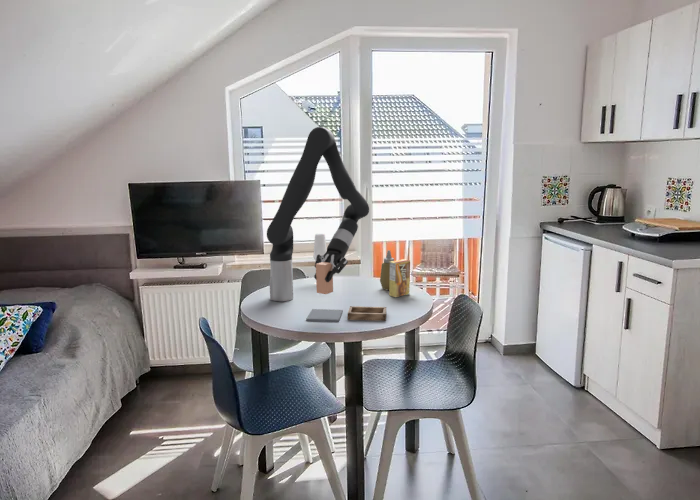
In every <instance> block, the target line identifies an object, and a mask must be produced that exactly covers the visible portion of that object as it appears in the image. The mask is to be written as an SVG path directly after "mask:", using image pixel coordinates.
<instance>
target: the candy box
mask: <svg viewBox="0 0 700 500" xmlns="http://www.w3.org/2000/svg"><path fill="white" fill-rule="evenodd" d="M410 275H411V260H409V259H406V258H402V259H397V260H394V261H391V262H390V284H389V290H388V291H389V292H388V293H389V297H393V298H398V297H402V296H406V295H410V288H411V287H410V286H411V285H410V282H411V277H410Z"/></svg>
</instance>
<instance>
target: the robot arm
mask: <svg viewBox="0 0 700 500" xmlns="http://www.w3.org/2000/svg"><path fill="white" fill-rule="evenodd" d="M322 157H323V158H324V160H325V162H326V164H327V167H328V169H329V171H330V176H331V179H332V181H333V184H334V187H335V189H336V190H337V192H338V194H339V196H340V198H341V199H342V200H347V201H348V202H349V203H350V204H349V205H348V206H347V207H346V208H345V210H344V213H343V215H342V218H341V222H340V224H339V226H338V228H337V229H336V231H335V233H334V234H333V236H332V237H331V240H330V241H329V243H328V245H327V246H326V248H327V252H326V253H325V254H324V255H322V256H320V255H317V258H316V261H315V263H314V268H315V269H316V264H317V263H321V262H328V263H331V267H330V271H328V273H327V275H326V277H325V281H326V282H329V281H330V280H331V279H332V277H333V278H334V275H335V274H338V275H339V274H340V273H341V272H342V271H343V269H344V268H345V267H346V265H348V263H349V261H348V260H347V258H346V255H347V252H348V250H349V249H350V247H351V244H352V243H353V240H354V237H355V235H356V233H357V231H358V228H359V225H358V221H360V220H361V219H363V218H366V217H367V216H368V215H369V212H370V206H369V204H368V203H369V202H368V201H367V200H366V199H365V197H364V196H363V194H361V193H360V191H359V190H358V189H357V188H356V186H355V183H354V181H353V180H352V177H351V175H350V173H349V171H348V169H347V168H346V165H345V163H344V161H343V159H342V156H341V154H340V152H339V148H338V144H337V142H336V139H335V136H334V134H333V132H332V130H330V129H329V128H326V127H323V126H317V127H315V128H313V129H312V130H311V131H310V132H309V133H308V136H307V140H306V142H305V146H304V149H303V152H302V154H301V157H300V159H299V161H298V163H297V166H296V167H295V169H294V171H293V174H292V176H291V178H290V180H289V182H288V185H287V187H286V189H285V192H284V194H283V196H282V199H281V200H280V201H281V202H280V204H279V206H278V210H277V212H276V213H275V215H274V217H273V218H272V220H271V222H270V224H269V226H268V228H267V230H266V237H267V240H268V242H269V243H270V244H272V248H271V251H270V253H269V265H270V267H269V269H270V278H269V281H268V282H269V301H275V302H288V301H291V300H293V299H294V279H293V278H294V277H293V253H294V231H293V230H294V229H293V227H292V223H293V221H294V219H295V217H296V215H297V214H298V213H299V211H300V210H301V208H302V207H303V205H304V204H305V202H306V201H307V199H308V197H309V195H310V194H311V191H312V189H313V187H314V184H315V179H316V174H317V173H316V172H317V168H318V165H319V163H320V161H321V159H322ZM313 278H314V279H315V280H316V272H315V273H314V275H313Z"/></svg>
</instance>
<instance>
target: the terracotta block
mask: <svg viewBox="0 0 700 500" xmlns="http://www.w3.org/2000/svg"><path fill="white" fill-rule="evenodd" d="M330 267H331V263H328V262H321V263H317V264H316V268H315V273H316V279H315V282H316V293H317V294H320V295H321V294H323V295H328V294H331V293H333V292H334V276H333V277H332V279H331V280H330V281H329V282H326V281H325V277H326V275H327V273H328V271H330Z"/></svg>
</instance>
